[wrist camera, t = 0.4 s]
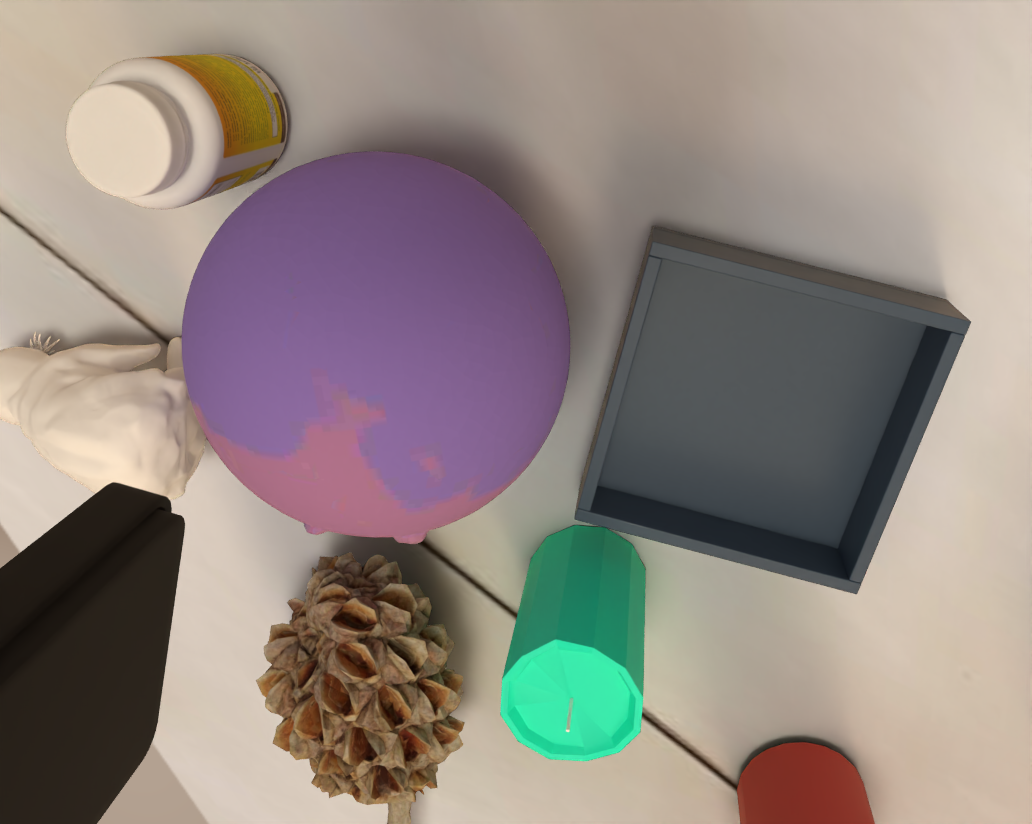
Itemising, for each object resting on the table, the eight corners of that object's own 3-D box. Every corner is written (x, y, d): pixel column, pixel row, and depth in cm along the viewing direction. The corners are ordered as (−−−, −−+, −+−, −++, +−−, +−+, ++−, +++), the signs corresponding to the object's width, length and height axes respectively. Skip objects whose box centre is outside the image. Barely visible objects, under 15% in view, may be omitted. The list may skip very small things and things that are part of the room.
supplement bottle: (204, 27, 43) (77, 24, 34) (313, 100, 44) (218, 117, 34) (153, 138, 45) (20, 165, 36) (258, 206, 46) (154, 250, 36)
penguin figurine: (148, 539, 42) (-94, 479, 44) (243, 462, 50) (33, 415, 52) (148, 402, 40) (-109, 345, 42) (247, 345, 48) (27, 299, 50)
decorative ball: (280, 440, 50) (134, 596, 36) (254, 130, 44) (72, 173, 30) (577, 458, 48) (546, 629, 34) (588, 137, 43) (556, 186, 29)
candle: (663, 546, 49) (665, 695, 38) (624, 642, 51) (615, 810, 40) (548, 508, 49) (517, 646, 38) (514, 606, 51) (475, 763, 40)
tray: (652, 225, 44) (652, 240, 40) (947, 299, 43) (971, 321, 40) (579, 486, 48) (573, 520, 45) (843, 556, 48) (857, 595, 45)
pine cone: (277, 516, 51) (195, 621, 42) (457, 506, 50) (413, 613, 41) (352, 849, 59) (296, 1000, 50) (511, 849, 57) (484, 1005, 48)
